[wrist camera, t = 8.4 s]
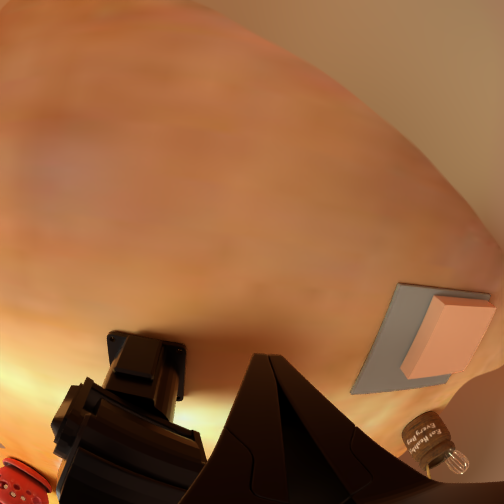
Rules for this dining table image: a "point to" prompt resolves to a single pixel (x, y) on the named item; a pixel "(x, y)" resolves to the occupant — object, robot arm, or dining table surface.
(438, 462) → the utensil holder
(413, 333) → the slate mat
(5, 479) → the plant pot
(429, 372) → the block
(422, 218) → the dining table surface
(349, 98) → the dining table surface
